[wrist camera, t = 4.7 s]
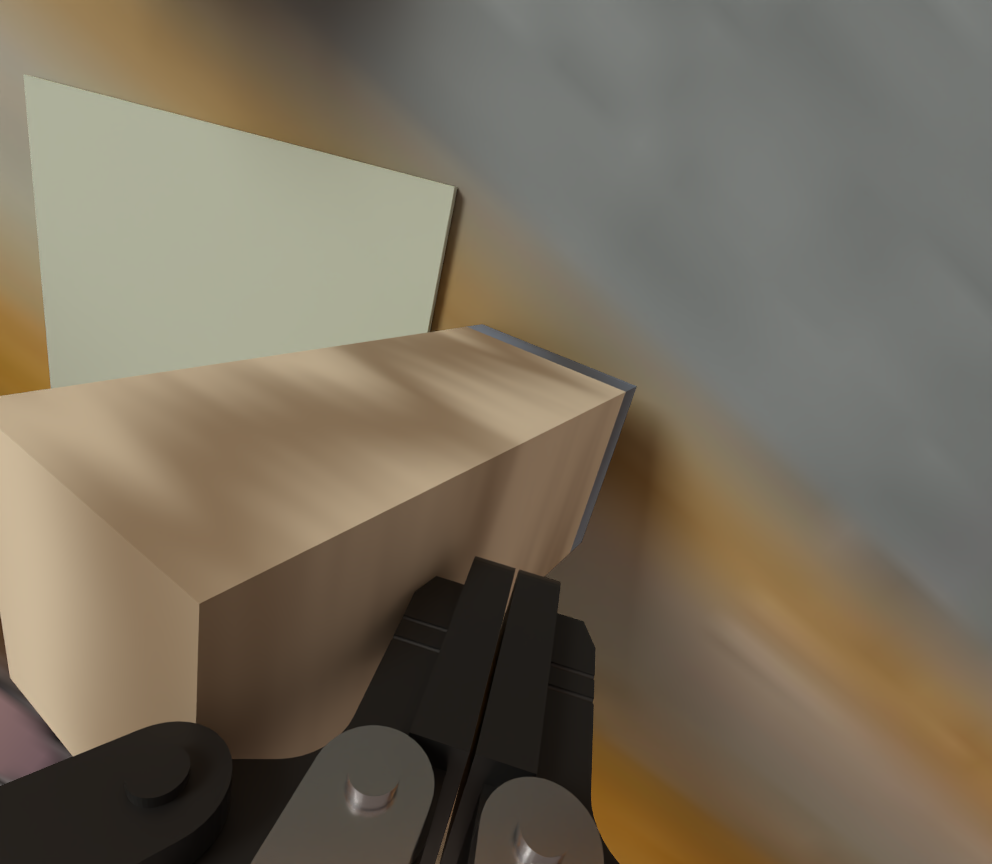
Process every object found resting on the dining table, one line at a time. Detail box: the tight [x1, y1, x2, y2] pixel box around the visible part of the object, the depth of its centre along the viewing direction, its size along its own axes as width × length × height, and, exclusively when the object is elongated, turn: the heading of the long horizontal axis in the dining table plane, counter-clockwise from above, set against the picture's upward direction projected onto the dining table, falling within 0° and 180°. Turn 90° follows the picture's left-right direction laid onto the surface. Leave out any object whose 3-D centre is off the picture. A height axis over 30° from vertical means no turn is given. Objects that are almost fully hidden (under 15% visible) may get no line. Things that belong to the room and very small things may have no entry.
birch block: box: [0, 324, 637, 759], centre depth 12 cm, size 5×5×12 cm
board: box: [23, 74, 457, 388], centre depth 19 cm, size 13×12×1 cm
